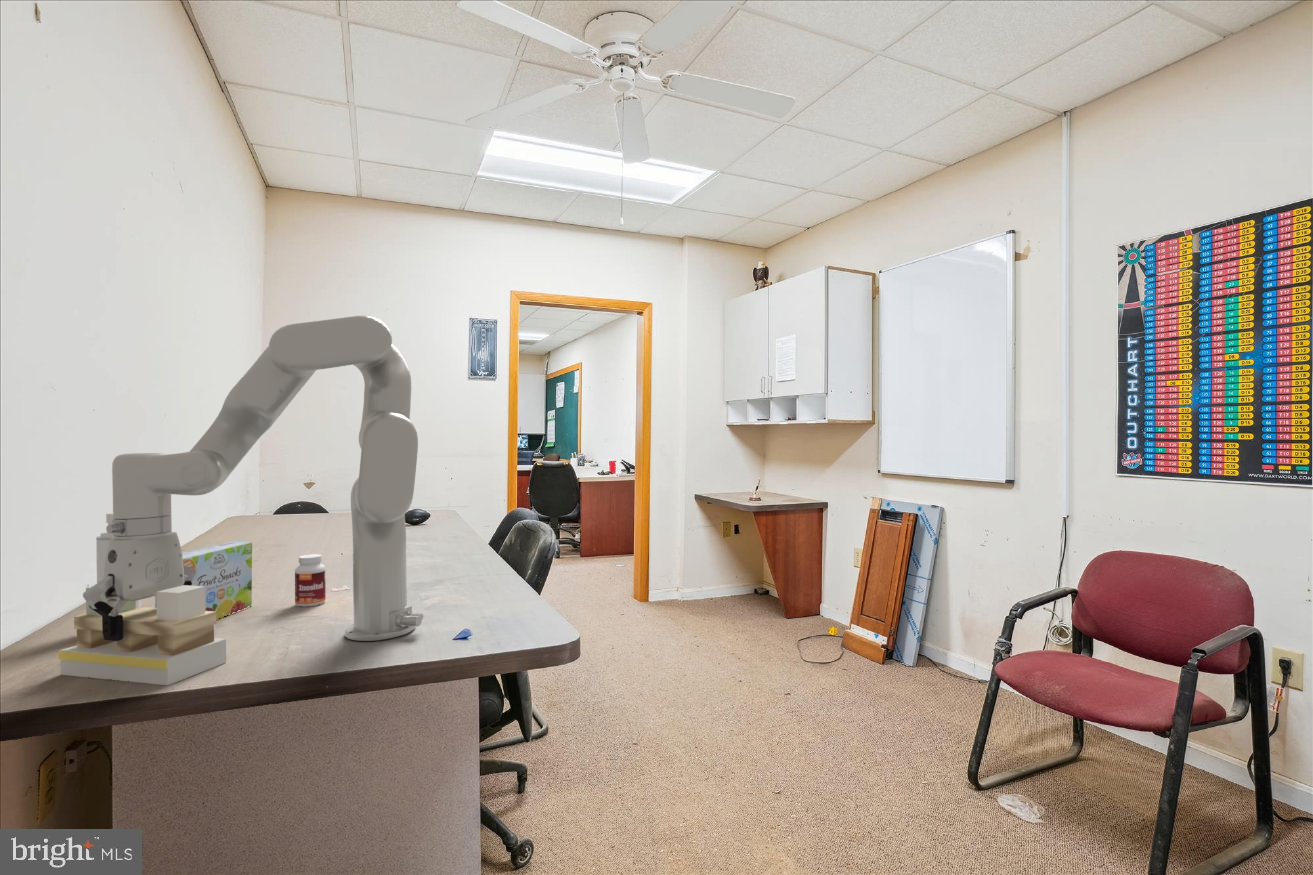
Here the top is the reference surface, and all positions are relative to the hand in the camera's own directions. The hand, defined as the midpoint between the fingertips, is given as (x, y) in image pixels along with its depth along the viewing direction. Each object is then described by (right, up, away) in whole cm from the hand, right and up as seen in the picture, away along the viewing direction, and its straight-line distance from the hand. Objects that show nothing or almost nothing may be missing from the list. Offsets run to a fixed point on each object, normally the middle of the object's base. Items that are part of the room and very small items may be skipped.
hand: (144, 630), depth 104 cm
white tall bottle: (-24, -7, +23) cm, 34 cm away
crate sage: (-7, +3, +2) cm, 8 cm away
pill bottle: (+6, -6, +40) cm, 41 cm away
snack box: (-10, -7, +28) cm, 30 cm away
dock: (0, -6, 0) cm, 6 cm away
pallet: (0, -2, 0) cm, 2 cm away
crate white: (+7, +3, -2) cm, 8 cm away
